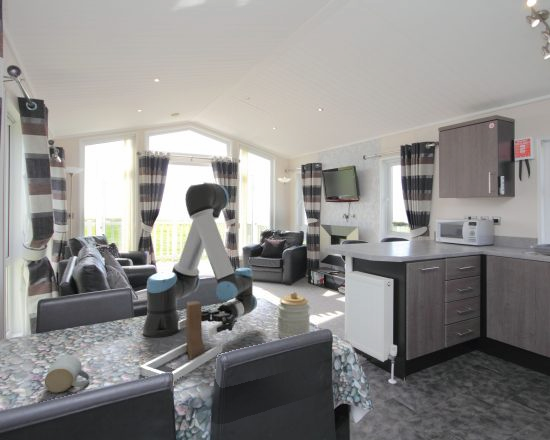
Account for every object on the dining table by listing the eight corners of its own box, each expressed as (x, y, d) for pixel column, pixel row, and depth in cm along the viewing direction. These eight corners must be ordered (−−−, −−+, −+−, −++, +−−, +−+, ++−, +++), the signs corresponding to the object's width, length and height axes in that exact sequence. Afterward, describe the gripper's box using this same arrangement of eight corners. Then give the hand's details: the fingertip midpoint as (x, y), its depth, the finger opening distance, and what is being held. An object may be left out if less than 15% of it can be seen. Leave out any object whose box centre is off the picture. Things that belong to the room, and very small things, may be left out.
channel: (139, 374, 101) (139, 366, 101) (195, 344, 123) (195, 338, 123) (168, 385, 95) (168, 376, 95) (222, 351, 117) (222, 344, 117)
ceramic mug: (42, 397, 89) (42, 369, 89) (52, 381, 97) (52, 356, 96) (86, 390, 92) (86, 364, 92) (92, 376, 100) (93, 351, 100)
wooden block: (204, 360, 111) (204, 307, 110) (191, 362, 109) (190, 309, 108) (199, 349, 119) (198, 300, 118) (186, 351, 117) (186, 301, 116)
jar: (300, 344, 123) (300, 298, 122) (271, 337, 130) (271, 293, 129) (315, 333, 134) (315, 290, 133) (287, 327, 141) (287, 286, 140)
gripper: (257, 326, 125) (223, 347, 106) (205, 315, 136) (167, 333, 118) (257, 306, 124) (223, 324, 106) (205, 298, 136) (167, 312, 117)
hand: (193, 329), depth 112 cm, fingers open, 13 cm apart
